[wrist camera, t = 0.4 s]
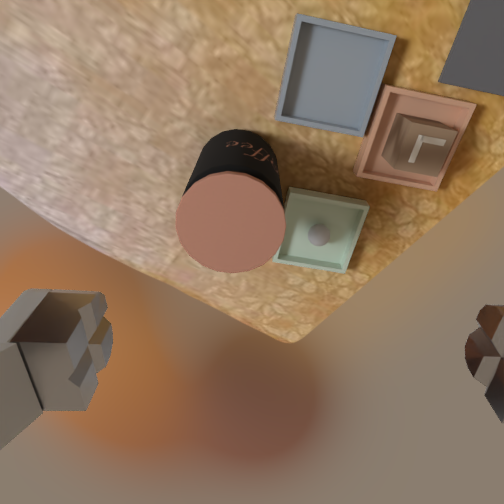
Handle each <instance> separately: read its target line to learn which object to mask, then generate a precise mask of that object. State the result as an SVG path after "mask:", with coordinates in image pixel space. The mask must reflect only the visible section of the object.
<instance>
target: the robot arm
mask: <svg viewBox="0 0 504 504" xmlns="http://www.w3.org/2000/svg"><path fill="white" fill-rule="evenodd" d="M107 308H108V307H107V303H106V299H105V295H104V294H102V293H101V292H94V291H75V290H56V289H55V290H51V289H28V290H26V291H24V292H23V293H22V294H21V295H20V296H19V297H18V299H17V300H16V301H15V302H14V303H13V304H12V305H11V306H10V308H9V309H8V310H7V311H6V312H5V313H4V314H3V316H2V317H1V318H0V450H1V449H2V448H3V447H4V446H6V445H7V444H8V443H9V442H10V441H11V440H12V439H14V438H15V437H16V436H17V435H18V434H19V433H21V432H22V431H23V430H24V429H25V428H26V427H27V426H28V425H30V424H31V423H32V422H33V421H34V420H36V418H38V417H39V416H40V415H41V414H42V413H43V411H86V410H87V408H88V405H89V403H90V401H91V399H92V396H93V394H94V392H95V390H96V388H97V385H98V380H97V376H96V373H98V372H99V371H100V370H102V369H103V368H104V367H106V365H107V362H108V360H109V358H110V354H111V349H112V344H113V333H112V326H111V323H110V322H109V321H108V320H107V319H106V318H105V317H104V316H103V315H104V314H105V312H106V310H107ZM476 320H477V323H478V325H479V328H478V329H476V330H475V331H474V332H472V333H471V334H469V336H468V339H467V342H466V345H465V360H466V363H467V366H468V369H469V371H470V372H471V374H472V376H473V377H474V378H475V379H476V380H478V381H479V382H480V383H482V384H483V385H485V386H486V391H485V397H486V399H487V400H488V402H489V403H490V405H491V407H492V408H493V410H494V411H495V413H496V415H497V416H498V418H499V419H500V421H501V423H504V305H485V306H484V307H483V308H482V309H481V310H480V311H479V314H478V316H477V318H476Z"/></svg>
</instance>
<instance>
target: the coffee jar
mask: <svg viewBox="0 0 504 504" xmlns="http://www.w3.org/2000/svg"><path fill="white" fill-rule="evenodd" d="M285 230H286V219H285V211H284V205H283V198H282V192H281V185H280V179H279V172H278V166H277V159H276V156H275V154H274V152H273V150H272V148H271V146H270V145H269V144H268V143H267V142H266V141H265V140H264V139H263V138H262V137H261V136H258V135H256V134H254V133H252V132H250V131H246V130H238V129H234V130H229V131H224V132H221V133H220V134H218V135H216V136H214V137H213V138H211V139H210V141H209V142H208V143H207V144H206V145H205V146H204V147H203V149H202V152H201V154H200V156H199V159H198V161H197V163H196V166H195V168H194V170H193V173H192V175H191V177H190V179H189V182H188V184H187V186H186V189H185V191H184V194H183V196H182V199H181V201H180V203H179V206H178V208H177V211H176V231H177V234H178V237H179V240H180V243H181V244H182V246H183V247H184V249H185V250H186V251H187V253H188V254H189V255H190V256H191V257H192V258H193V259H195V260H196V261H197V262H199V263H200V264H201V265H203V266H205V267H208V268H210V269H213V270H215V271H219V272H228V273H238V272H244V271H250V270H252V269H254V268H257V267H259V266H261V265H263V264H265V263H266V262H267V261H268V260H269V259H270V258H272V257H273V256H274V255H275V254H276V252H277V251H278V249H279V247H280V246H281V244H282V242H283V241H284V236H285Z"/></svg>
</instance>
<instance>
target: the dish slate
mask: <svg viewBox="0 0 504 504" xmlns="http://www.w3.org/2000/svg"><path fill="white" fill-rule="evenodd" d="M395 39H396V35H392V34H387V33H383V32H378V31H374V30H369V29H365V28H360V27H356V26H351V25H347V24H342V23H338V22H333V21H329V20H324V19H320V18H315V17H311V16H306V15H302V14H296V15H295V19H294V24H293V29H292V34H291V39H290V43H289V48H288V53H287V58H286V63H285V67H284V72H283V77H282V82H281V87H280V91H279V96H278V101H277V106H276V111H275V116H274V117H275V120H278V121H283V122H288V123H293V124H298V125H303V126H308V127H313V128H318V129H323V130H328V131H333V132H339V133H344V134H349V135H354V136H359V137H363V136H364V133H365V130H366V127H367V124H368V121H369V118H370V115H371V112H372V109H373V106H374V103H375V100H376V97H377V94H378V91H379V88H380V85H381V82H382V79H383V76H384V73H385V70H386V67H387V64H388V61H389V58H390V55H391V52H392V49H393V45H394V42H395Z"/></svg>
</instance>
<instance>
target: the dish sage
mask: <svg viewBox="0 0 504 504" xmlns="http://www.w3.org/2000/svg"><path fill="white" fill-rule="evenodd" d="M369 208H370V206H369V205H368V203H367V201H366V200H360V199H355V198H349V197H344V196H338V195H333V194H327V193H322V192H316V191H311V190H305V189H300V188H294V187H289V188H288V192H287V196H286V200H285V204H284V211H285V219H286V230H285V236H284V241H283V242H282V244H281V246H280V247H279V249H278V251H277V252H276V254H275V255H274V256H273V257H272V260H273V262H277V263H283V264H289V265H295V266H301V267H308V268H314V269H320V270H326V271H332V272H338V273H344V274H345V272H346V269H347V267H348V264H349V261H350V259H351V256H352V253H353V251H354V248H355V245H356V243H357V240H358V237H359V235H360V232H361V229H362V227H363V224H364V221H365V218H366V216H367V213H368V210H369ZM316 224H323V225H325V226H326V227H327V228H328V229H329V231H330V239H329V241H328V243H327V244H325V245H323V246H315V245H313V244H312V243H311V242H310V241H309V239H308V231H309V229H310V228H311V227H312V226H313V225H316Z"/></svg>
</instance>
